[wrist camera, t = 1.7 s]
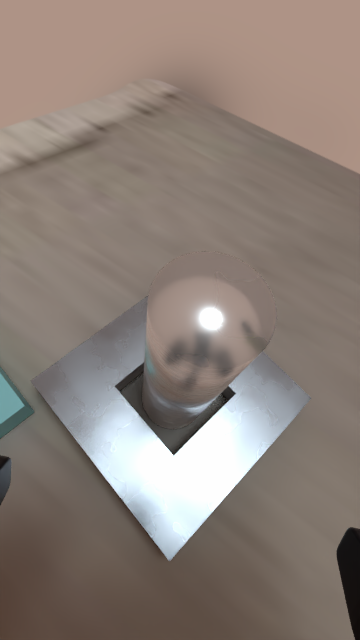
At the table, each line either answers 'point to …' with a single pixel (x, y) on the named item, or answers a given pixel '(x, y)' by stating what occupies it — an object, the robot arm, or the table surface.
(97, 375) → the socket block
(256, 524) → the table surface
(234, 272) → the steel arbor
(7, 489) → the robot arm
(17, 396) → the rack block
